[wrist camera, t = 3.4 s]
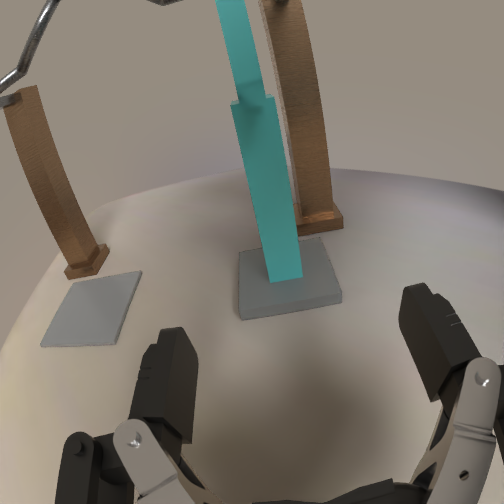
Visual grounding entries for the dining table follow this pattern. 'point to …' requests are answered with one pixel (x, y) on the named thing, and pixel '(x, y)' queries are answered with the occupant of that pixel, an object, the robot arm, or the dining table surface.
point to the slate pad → (92, 312)
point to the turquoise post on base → (270, 193)
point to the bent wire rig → (294, 115)
